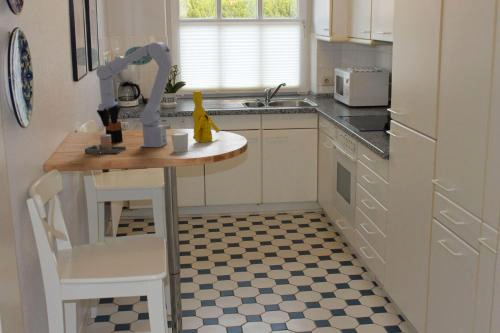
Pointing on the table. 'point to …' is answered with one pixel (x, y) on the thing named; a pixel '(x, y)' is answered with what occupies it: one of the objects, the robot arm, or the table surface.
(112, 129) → the battery
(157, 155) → the table surface
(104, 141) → the jar
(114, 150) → the frame
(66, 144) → the table surface
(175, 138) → the beige cylinder
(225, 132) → the table surface
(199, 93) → the figure statuette
